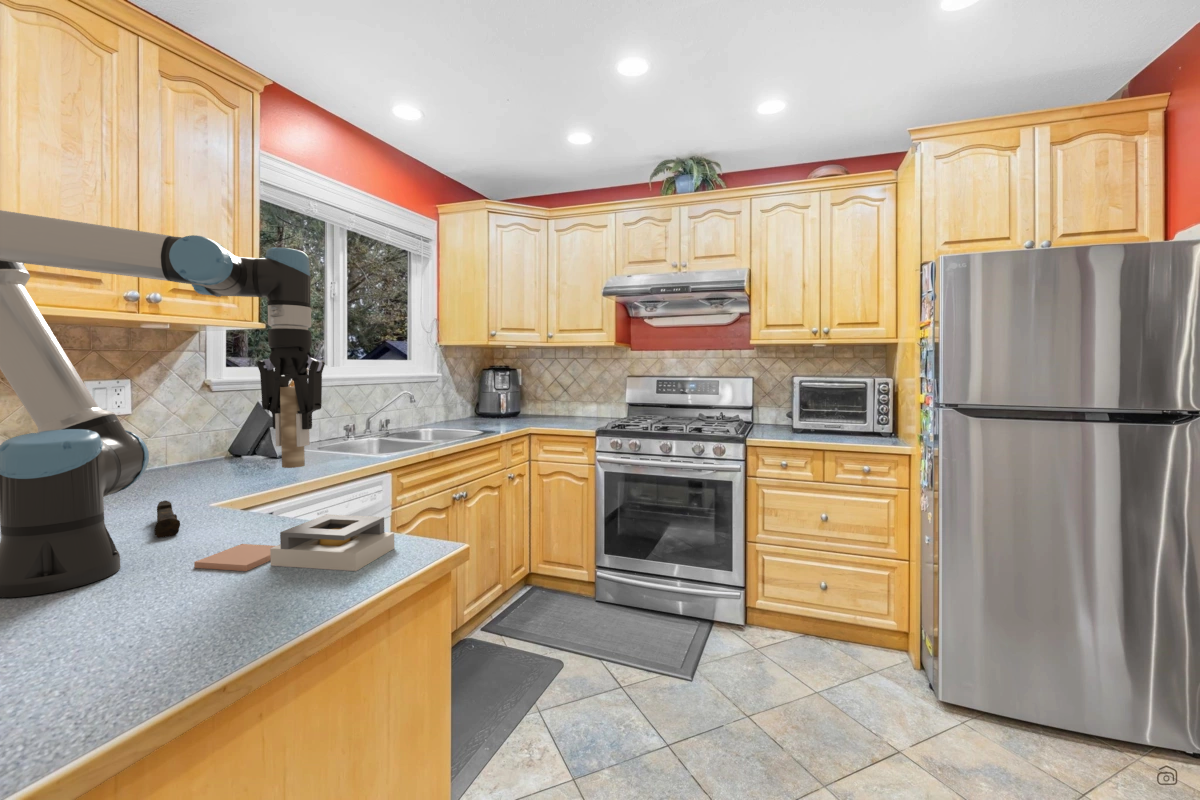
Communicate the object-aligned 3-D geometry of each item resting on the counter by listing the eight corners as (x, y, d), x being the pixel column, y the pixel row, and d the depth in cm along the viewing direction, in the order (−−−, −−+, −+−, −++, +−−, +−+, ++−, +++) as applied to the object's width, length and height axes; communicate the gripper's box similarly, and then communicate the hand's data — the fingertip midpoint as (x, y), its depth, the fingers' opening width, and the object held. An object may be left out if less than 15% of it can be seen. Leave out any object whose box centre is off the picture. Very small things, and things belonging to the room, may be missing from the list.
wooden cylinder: (277, 467, 108) (275, 387, 107) (291, 464, 112) (289, 386, 111) (295, 468, 107) (293, 387, 107) (309, 464, 111) (307, 386, 110)
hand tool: (180, 536, 111) (179, 513, 111) (154, 540, 109) (154, 516, 108) (179, 517, 126) (179, 497, 126) (157, 520, 123) (156, 500, 123)
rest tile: (194, 567, 92) (194, 561, 92) (242, 549, 102) (242, 543, 102) (246, 571, 91) (246, 565, 90) (289, 551, 100) (289, 546, 100)
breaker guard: (270, 565, 93) (269, 531, 93) (317, 544, 105) (317, 513, 105) (356, 571, 91) (355, 536, 90) (394, 548, 102) (393, 517, 102)
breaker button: (313, 552, 96) (312, 535, 96) (331, 543, 101) (331, 527, 100) (339, 553, 95) (338, 536, 95) (356, 544, 100) (356, 528, 100)
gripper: (237, 327, 106) (240, 446, 107) (315, 326, 103) (318, 449, 104) (266, 330, 113) (269, 442, 114) (340, 329, 111) (343, 444, 112)
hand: (292, 445), depth 109 cm, fingers closed on wooden cylinder, 4 cm apart
